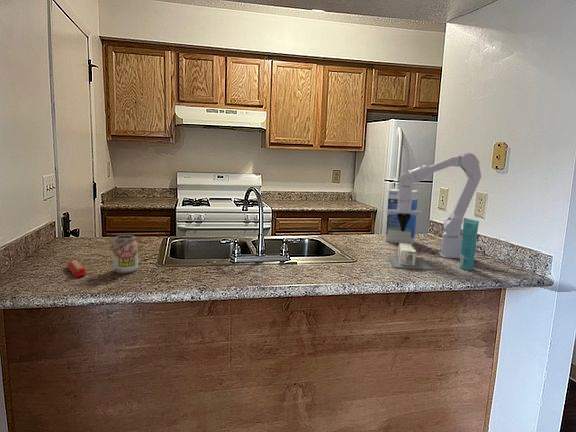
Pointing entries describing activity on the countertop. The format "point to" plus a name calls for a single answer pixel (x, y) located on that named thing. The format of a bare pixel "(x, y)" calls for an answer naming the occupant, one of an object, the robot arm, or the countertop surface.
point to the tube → (468, 243)
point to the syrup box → (406, 254)
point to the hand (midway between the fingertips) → (402, 231)
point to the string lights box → (393, 223)
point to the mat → (419, 264)
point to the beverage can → (125, 254)
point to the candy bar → (76, 268)
